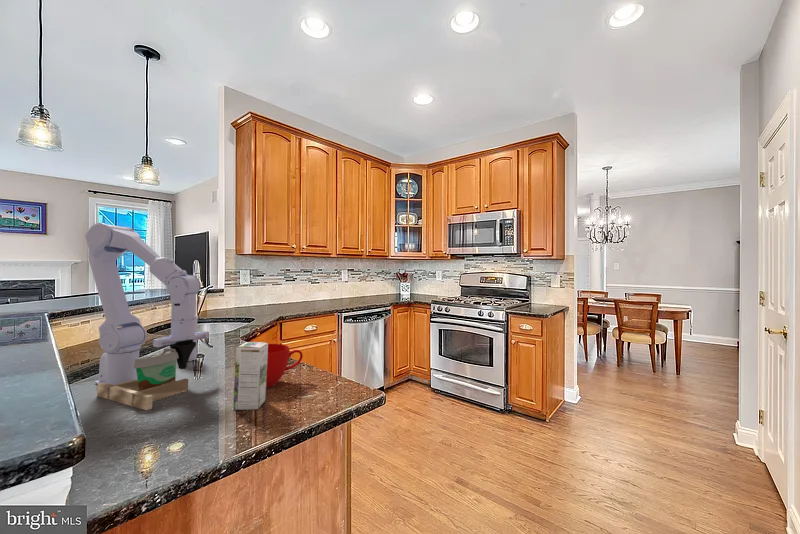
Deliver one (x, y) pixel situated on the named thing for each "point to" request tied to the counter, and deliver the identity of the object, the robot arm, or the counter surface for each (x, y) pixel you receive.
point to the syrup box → (250, 375)
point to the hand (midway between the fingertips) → (182, 368)
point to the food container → (156, 369)
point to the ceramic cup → (278, 362)
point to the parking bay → (139, 392)
